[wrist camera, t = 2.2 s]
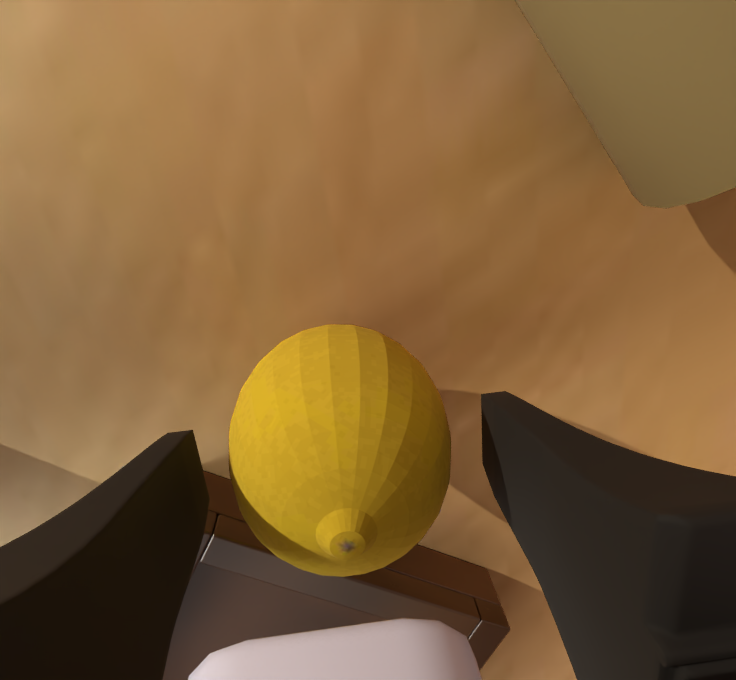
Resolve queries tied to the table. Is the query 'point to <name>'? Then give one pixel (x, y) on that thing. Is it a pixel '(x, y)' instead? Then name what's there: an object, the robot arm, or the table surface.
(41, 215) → the table surface
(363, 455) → the lemon
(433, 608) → the tray
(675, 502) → the robot arm
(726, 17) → the cork
